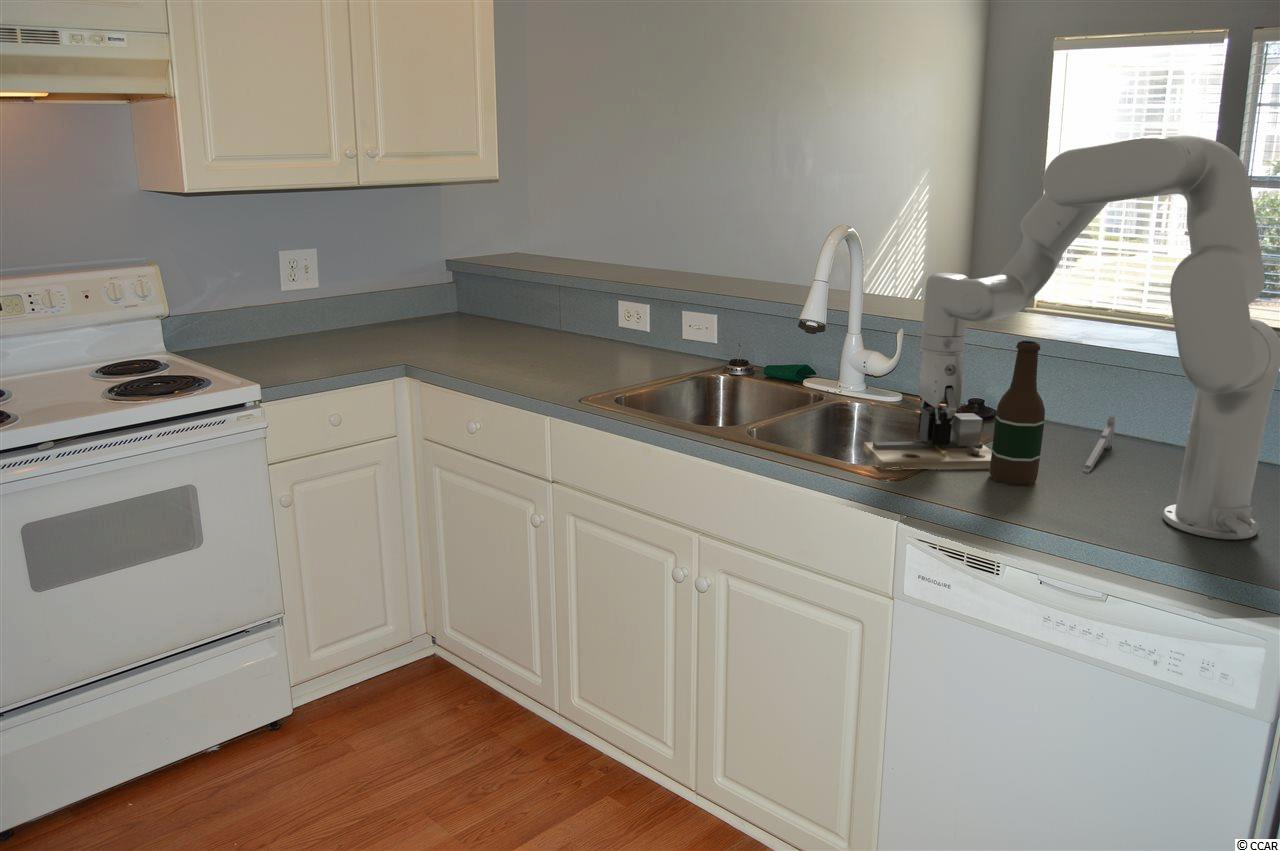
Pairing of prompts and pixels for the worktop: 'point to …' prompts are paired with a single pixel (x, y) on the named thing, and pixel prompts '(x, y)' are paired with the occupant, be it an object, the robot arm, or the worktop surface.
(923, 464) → the board
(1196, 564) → the worktop surface
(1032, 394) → the beer bottle
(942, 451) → the block
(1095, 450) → the caliper
